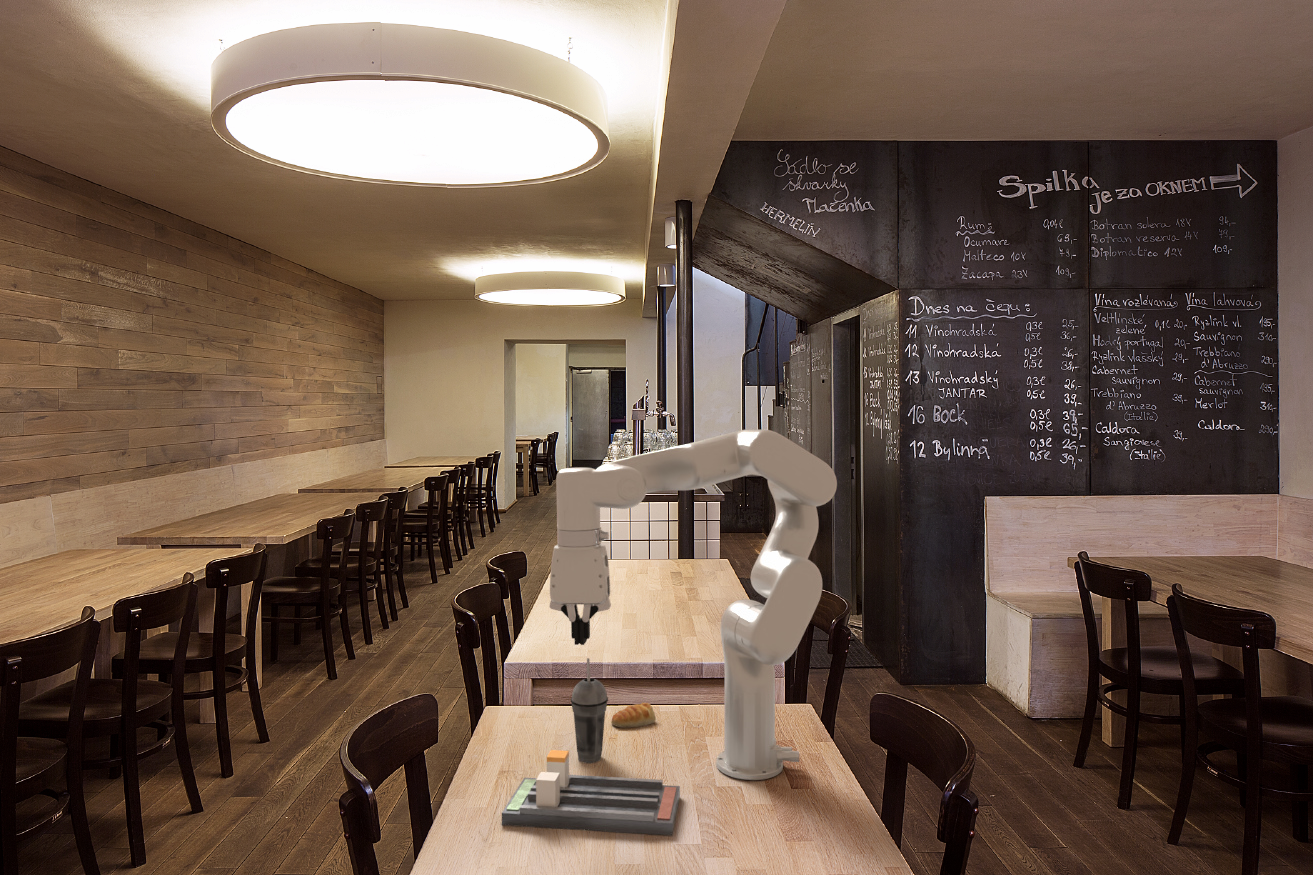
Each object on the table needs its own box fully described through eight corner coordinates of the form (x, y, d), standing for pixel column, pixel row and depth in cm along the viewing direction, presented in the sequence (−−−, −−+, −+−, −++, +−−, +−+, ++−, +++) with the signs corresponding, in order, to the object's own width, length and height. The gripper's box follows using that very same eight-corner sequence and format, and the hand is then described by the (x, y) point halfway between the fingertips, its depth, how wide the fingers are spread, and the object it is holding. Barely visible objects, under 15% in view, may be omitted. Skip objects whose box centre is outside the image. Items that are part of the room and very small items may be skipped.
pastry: (620, 732, 171) (620, 714, 171) (605, 722, 176) (605, 705, 176) (658, 723, 176) (658, 706, 176) (642, 714, 181) (642, 697, 181)
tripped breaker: (568, 783, 142) (568, 750, 142) (564, 791, 139) (564, 757, 139) (551, 782, 142) (551, 749, 142) (546, 790, 139) (546, 756, 139)
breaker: (559, 802, 135) (559, 772, 135) (555, 810, 132) (555, 780, 132) (541, 800, 135) (541, 771, 135) (536, 809, 133) (536, 779, 132)
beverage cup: (611, 751, 161) (610, 651, 160) (605, 767, 153) (604, 662, 153) (575, 749, 161) (574, 650, 161) (567, 765, 154) (566, 661, 154)
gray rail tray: (679, 797, 141) (679, 780, 141) (672, 835, 128) (672, 816, 128) (524, 788, 145) (524, 771, 145) (501, 824, 132) (501, 806, 132)
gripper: (624, 535, 144) (626, 637, 144) (542, 535, 145) (544, 636, 146) (617, 542, 136) (619, 649, 137) (531, 541, 138) (533, 648, 138)
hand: (580, 642), depth 141 cm, fingers closed
